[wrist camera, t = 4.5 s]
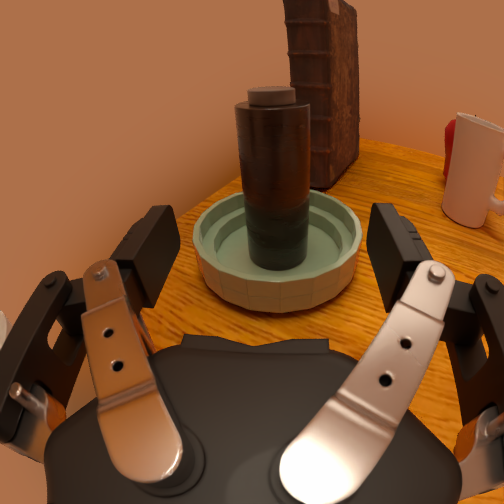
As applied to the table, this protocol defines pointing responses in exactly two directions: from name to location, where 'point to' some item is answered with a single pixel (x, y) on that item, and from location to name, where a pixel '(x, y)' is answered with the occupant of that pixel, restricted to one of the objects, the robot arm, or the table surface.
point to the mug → (474, 171)
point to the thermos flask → (275, 175)
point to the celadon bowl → (278, 282)
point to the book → (326, 81)
